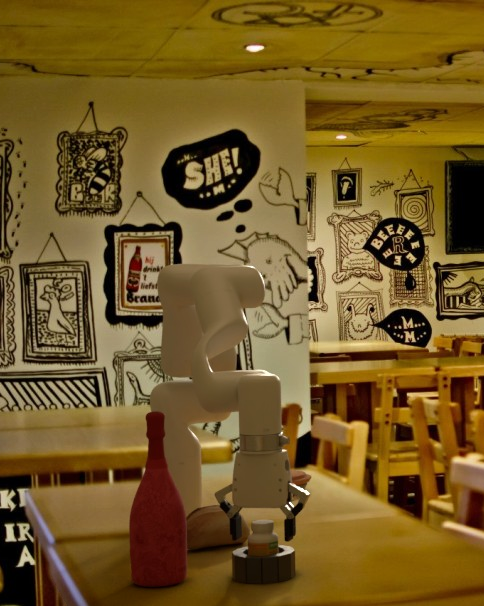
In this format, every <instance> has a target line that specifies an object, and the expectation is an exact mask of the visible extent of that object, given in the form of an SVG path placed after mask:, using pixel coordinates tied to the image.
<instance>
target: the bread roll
mask: <svg viewBox="0 0 484 606" xmlns="http://www.w3.org/2000/svg"><path fill="white" fill-rule="evenodd" d="M239 515H241V518H242V537H241V538H239V539H238V540H236V541H233V540H232V535H230V518H228V517H227V514H226V513H225V512H224V511H223V510H222V509H221V508H220V504H213V505H207V506H206V505H205V506H203V507H200V508H197V509H195V510H193V511H192V512H191V513H190V514H189V515H188V516H187V517H186V522H187V550H197V549H203V548H211V547H219V546H220V547H221V546H227V545H228V546H229V545H235V544H236V545H237V544H243V543H246V542H247V541H248V536H249V535H250V534H251V527H250V525H249V523H248V522H247V520H246V519H245V517H244V516H243V514H242V513H241V512H239Z"/></svg>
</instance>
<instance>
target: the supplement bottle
mask: <svg viewBox="0 0 484 606" xmlns="http://www.w3.org/2000/svg"><path fill="white" fill-rule="evenodd" d="M274 530H275V522H274V520H271V519H257V520H253V521H251V522H250V531H252V533H250V535H249V536H248V539H247V546H248V555H251V556H266V555H274V554H278V553H279V549H278V545H279V535H278V534H277V533H276V532H274Z"/></svg>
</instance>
